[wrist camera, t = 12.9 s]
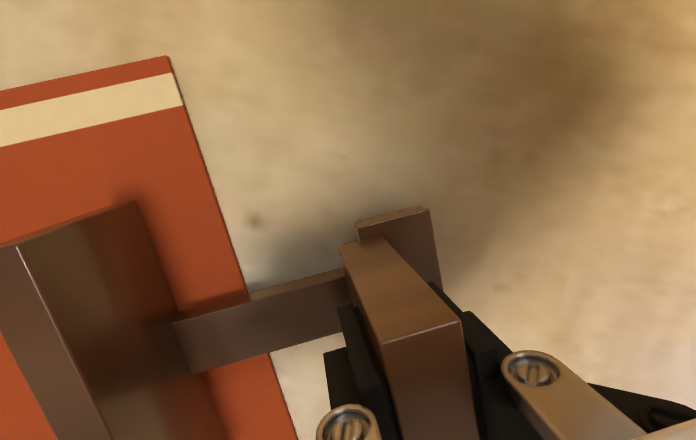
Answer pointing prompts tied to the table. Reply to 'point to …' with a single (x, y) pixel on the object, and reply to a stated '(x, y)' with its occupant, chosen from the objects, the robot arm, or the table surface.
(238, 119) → the table surface
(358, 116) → the table surface
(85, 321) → the rod with end plates
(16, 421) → the towel
